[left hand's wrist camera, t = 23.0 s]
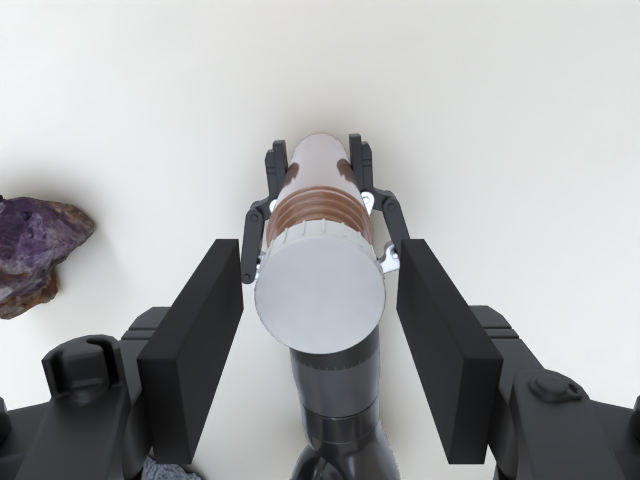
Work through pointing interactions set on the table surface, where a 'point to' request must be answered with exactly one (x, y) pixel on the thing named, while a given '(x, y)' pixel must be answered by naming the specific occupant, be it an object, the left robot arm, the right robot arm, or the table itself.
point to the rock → (35, 249)
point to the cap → (320, 287)
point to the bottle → (320, 190)
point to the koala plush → (166, 471)
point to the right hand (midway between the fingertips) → (316, 139)
